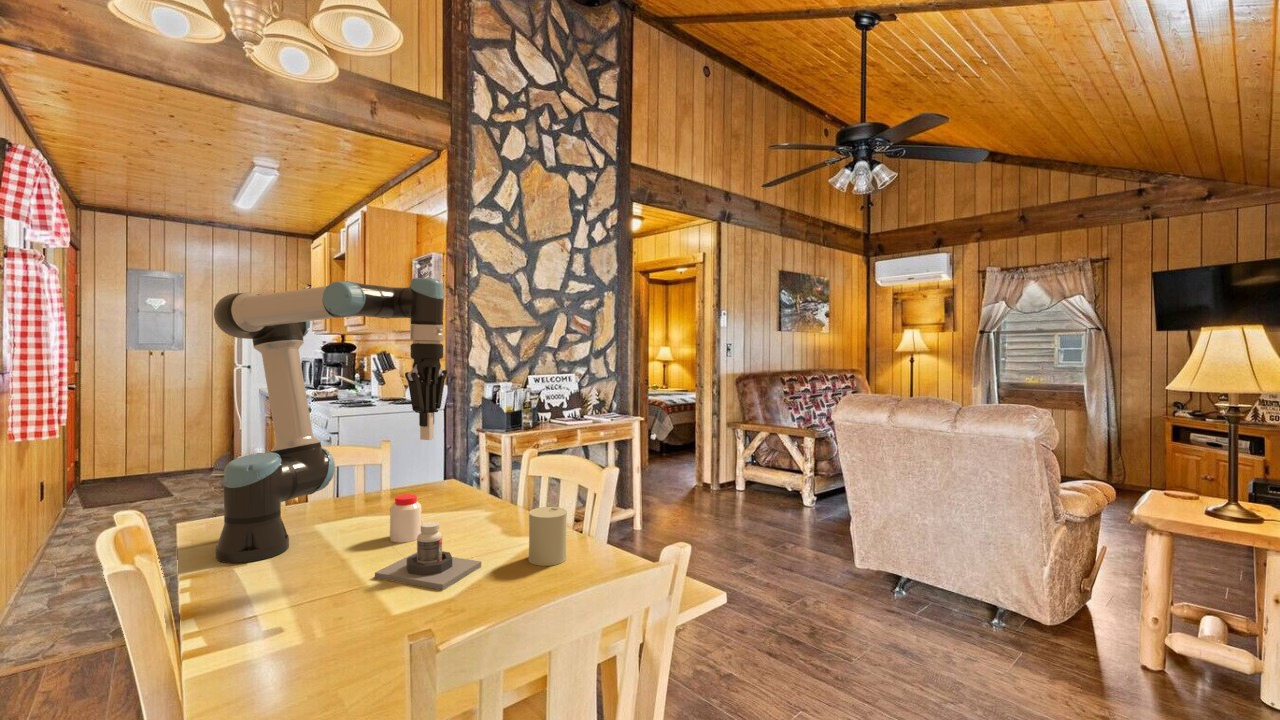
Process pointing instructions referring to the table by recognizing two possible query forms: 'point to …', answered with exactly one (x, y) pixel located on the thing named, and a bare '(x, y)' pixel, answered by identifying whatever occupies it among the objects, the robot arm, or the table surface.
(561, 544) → the can
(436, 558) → the pill bottle
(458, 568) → the collar plate
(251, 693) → the table surface
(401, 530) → the pill bottle
